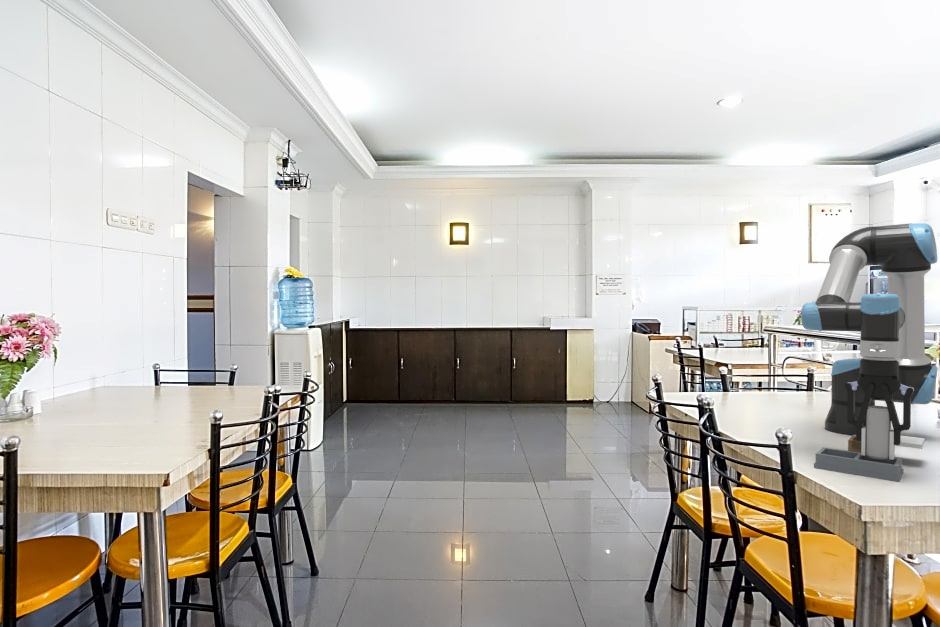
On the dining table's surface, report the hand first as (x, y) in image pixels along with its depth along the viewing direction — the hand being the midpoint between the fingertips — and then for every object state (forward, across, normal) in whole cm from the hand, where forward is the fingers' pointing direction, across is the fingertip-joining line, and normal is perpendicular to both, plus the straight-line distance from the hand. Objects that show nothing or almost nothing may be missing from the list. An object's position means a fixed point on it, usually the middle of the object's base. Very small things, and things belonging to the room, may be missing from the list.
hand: (877, 456), depth 137 cm
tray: (+4, -3, +18) cm, 18 cm away
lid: (-1, +3, +18) cm, 18 cm away
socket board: (+4, -4, 0) cm, 6 cm away
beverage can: (+1, 0, 0) cm, 1 cm away
